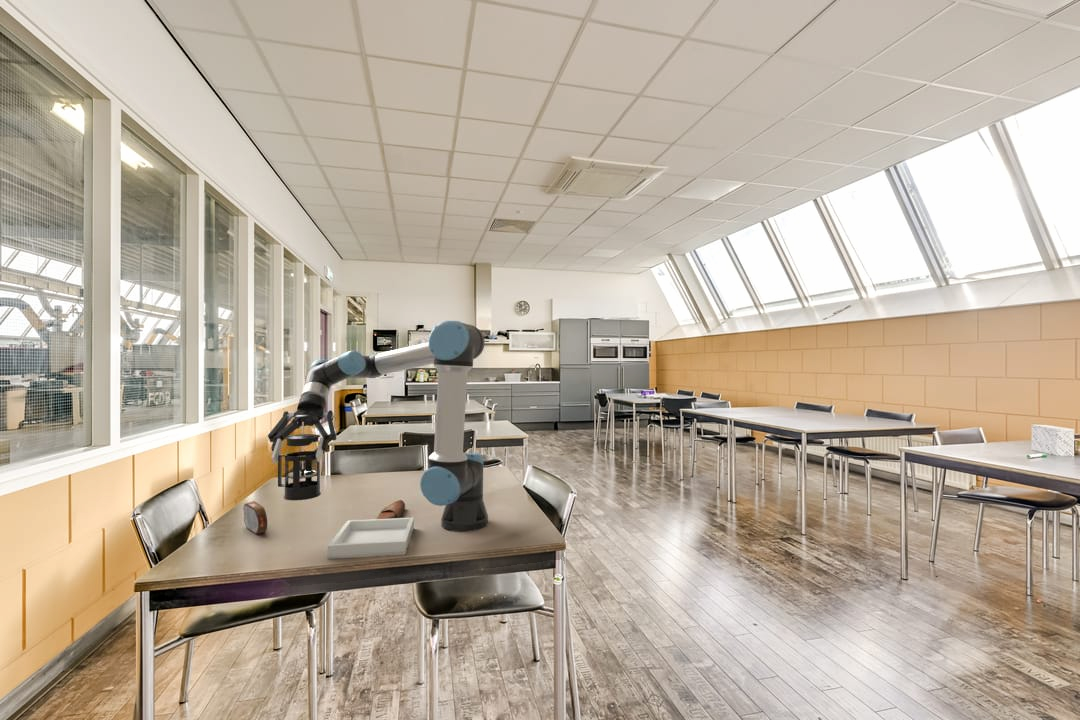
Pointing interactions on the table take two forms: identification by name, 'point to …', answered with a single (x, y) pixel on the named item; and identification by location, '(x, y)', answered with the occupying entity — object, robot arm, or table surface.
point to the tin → (255, 517)
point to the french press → (299, 488)
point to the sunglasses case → (392, 510)
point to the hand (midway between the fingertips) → (296, 459)
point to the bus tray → (372, 538)
